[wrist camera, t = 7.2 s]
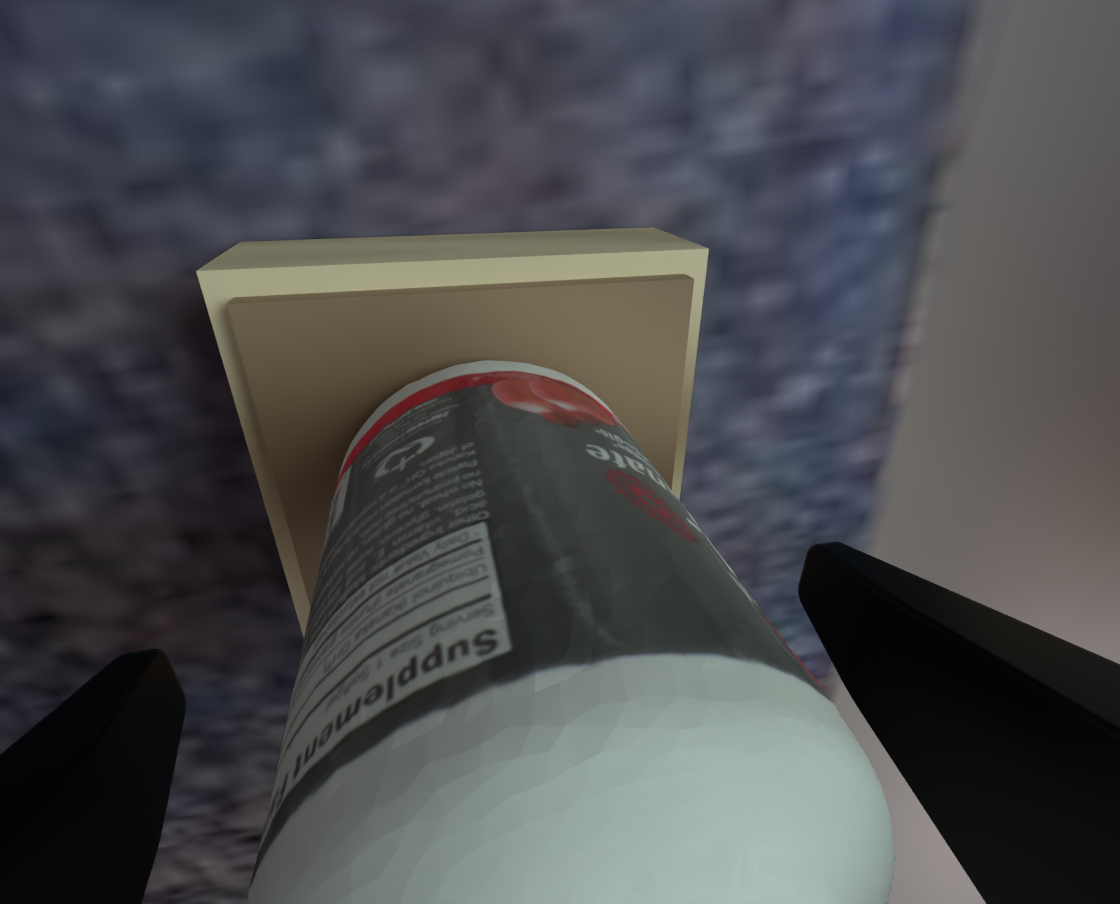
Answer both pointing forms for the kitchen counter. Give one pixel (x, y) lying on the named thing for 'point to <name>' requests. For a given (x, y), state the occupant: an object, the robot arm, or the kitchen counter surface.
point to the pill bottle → (548, 683)
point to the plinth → (441, 343)
